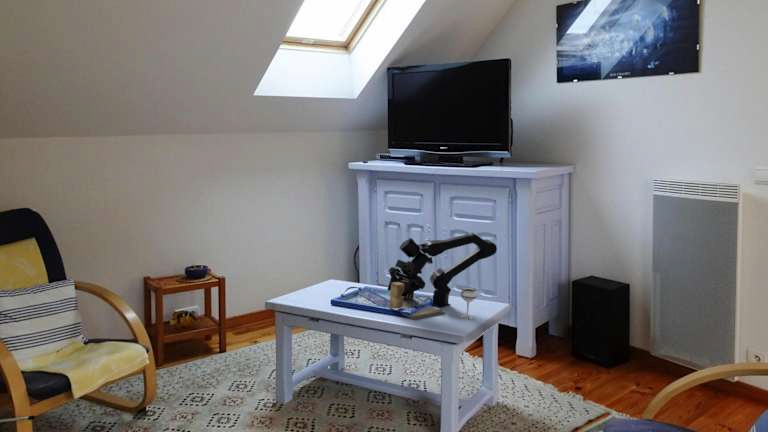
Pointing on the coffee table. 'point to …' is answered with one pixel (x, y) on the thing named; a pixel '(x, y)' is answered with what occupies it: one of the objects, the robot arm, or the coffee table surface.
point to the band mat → (425, 313)
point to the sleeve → (396, 295)
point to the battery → (404, 281)
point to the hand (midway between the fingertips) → (394, 293)
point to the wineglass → (468, 298)
